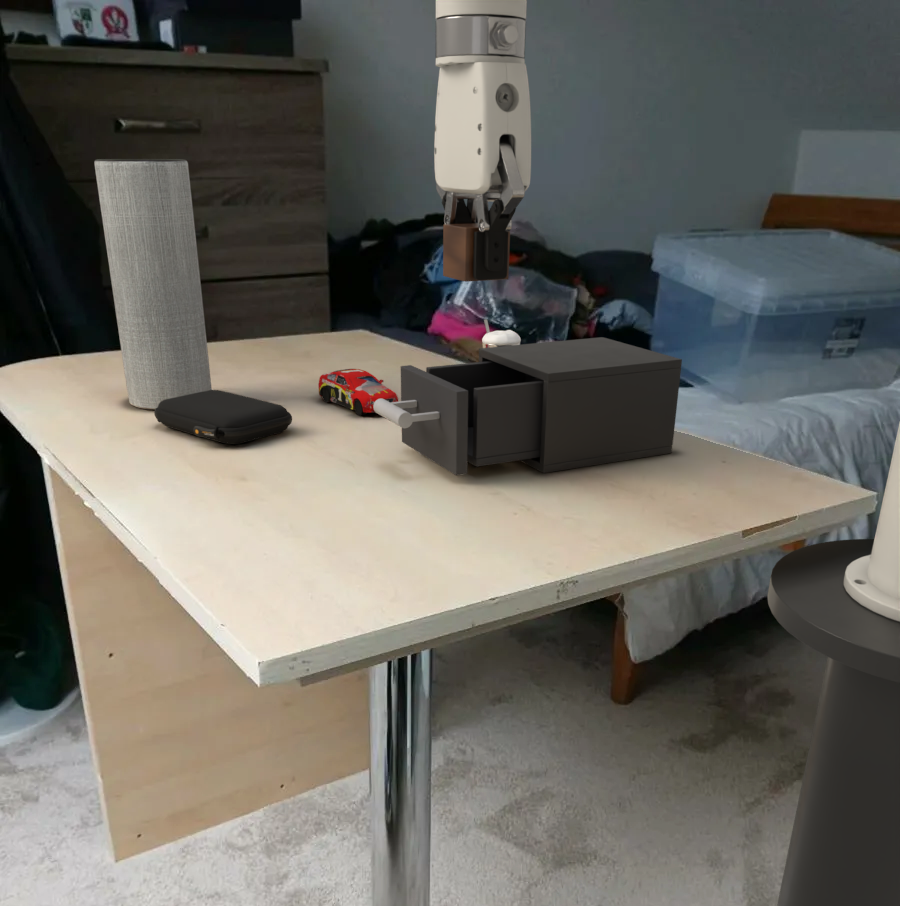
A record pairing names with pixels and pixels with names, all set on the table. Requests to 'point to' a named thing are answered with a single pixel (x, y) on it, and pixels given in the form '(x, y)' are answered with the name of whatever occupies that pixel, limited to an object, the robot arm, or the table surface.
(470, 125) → the robot arm
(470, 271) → the block
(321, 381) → the race car
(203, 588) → the table surface
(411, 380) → the drawer
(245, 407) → the carrying case
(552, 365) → the cabinet
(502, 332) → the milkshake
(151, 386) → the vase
